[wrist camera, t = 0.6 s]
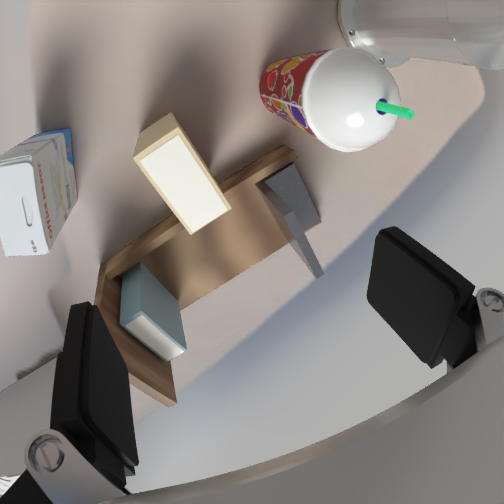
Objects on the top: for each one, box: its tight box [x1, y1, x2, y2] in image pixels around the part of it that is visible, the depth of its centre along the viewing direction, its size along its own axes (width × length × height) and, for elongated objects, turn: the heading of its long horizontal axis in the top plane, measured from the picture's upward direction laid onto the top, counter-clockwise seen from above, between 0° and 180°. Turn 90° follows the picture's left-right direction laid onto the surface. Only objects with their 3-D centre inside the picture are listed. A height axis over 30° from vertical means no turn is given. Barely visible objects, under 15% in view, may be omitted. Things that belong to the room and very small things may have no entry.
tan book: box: [133, 112, 232, 235], centre depth 28 cm, size 4×8×11 cm, turn 28°
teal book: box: [120, 262, 187, 362], centre depth 36 cm, size 3×8×9 cm, turn 28°
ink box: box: [0, 128, 78, 258], centre depth 24 cm, size 8×5×12 cm, turn 175°
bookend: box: [255, 162, 324, 279], centre depth 35 cm, size 5×9×9 cm, turn 28°
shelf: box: [94, 145, 321, 407], centre depth 34 cm, size 27×12×15 cm, turn 118°
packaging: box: [0, 356, 58, 494], centre depth 36 cm, size 30×6×20 cm, turn 116°
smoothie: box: [259, 46, 414, 152], centre depth 24 cm, size 8×8×20 cm
